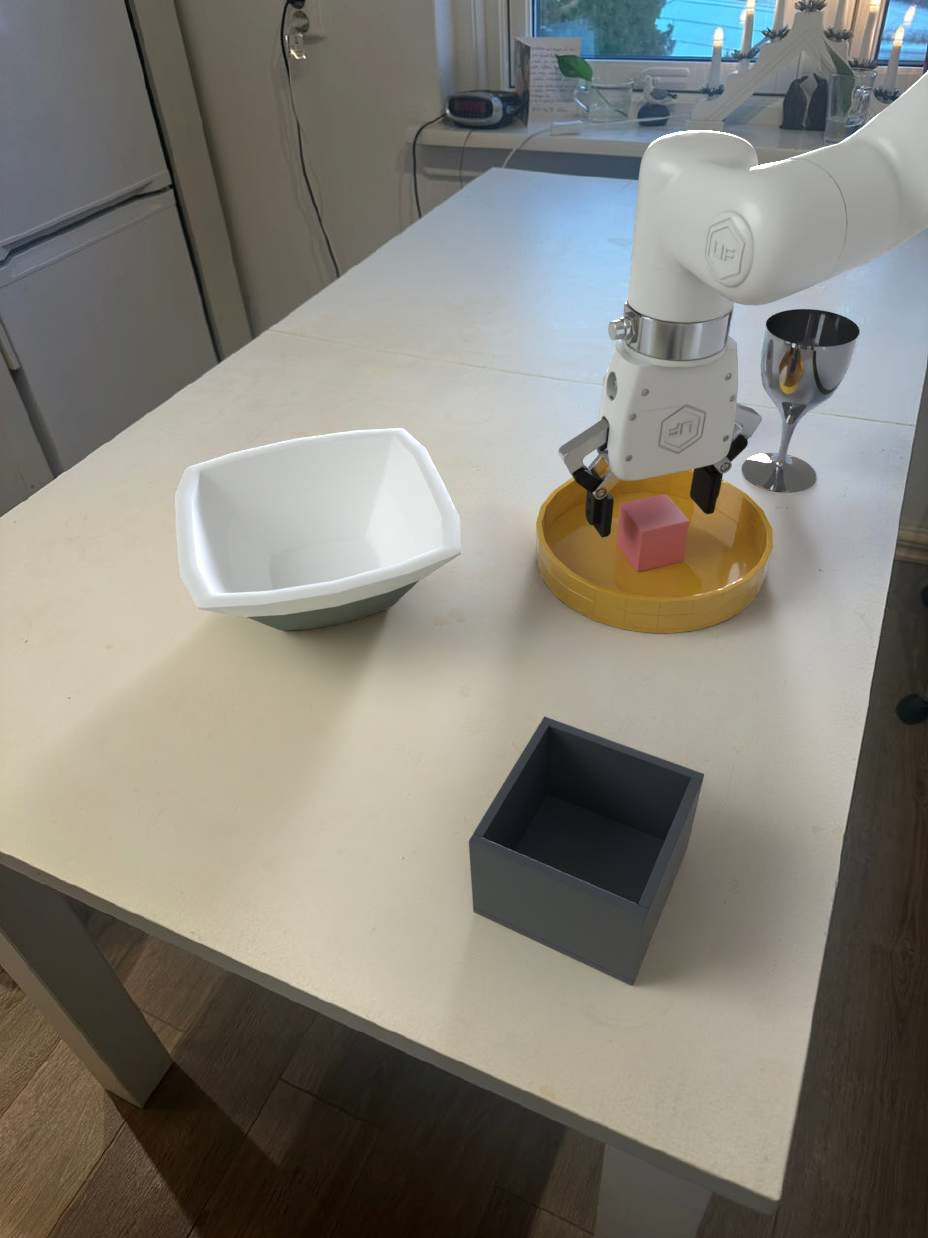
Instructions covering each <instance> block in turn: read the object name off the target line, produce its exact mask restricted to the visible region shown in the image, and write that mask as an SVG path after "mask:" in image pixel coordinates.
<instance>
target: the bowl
mask: <svg viewBox="0 0 928 1238" xmlns="http://www.w3.org/2000/svg"><path fill="white" fill-rule="evenodd" d="M174 513H175V515H174V517H175V518H174V519H175V538H176V548H177V560H178V569H179V570H178V571H179V576H180V578H181V580H182V582H183V584H184V586H185V588H186V589H187V591H188V593H189V595H190V597H191V598H192V600H193V602H194V604H195V606H196V608H197V609H198V610H200V611H203V612H204V611H205V612H212V613H216V614H222V615H228V616H234V617H241V618H247V619H251V620H253V621H255V622H258V623H260V624H263V625H265V626H268V627H270V628H273V629H276V630H277V631H300V630H302V631H303V630H313V629H317V628H322V627H323V628H325V627H331V626H336V625H341V624H344V623H349V622H352V621H356V620H359V619H363V618H366V617H370V616H372V615H375V614H377V613H379V612H381V611H384V610H386V609H390V608H391V607H394V605H396V603H398V602H399V601H400V600H401V599H402V598H403V597H404V596H405V595H406V594H407V593H408V592H409V591H410V590H411V589H412V588H413V587H414V586H416V585H417V584H418V582H419V581H421V580H423V579H425V578H427V577H428V576H430V575H431V574H433V573H435V572H436V571H437V570H439V569H440V568H443V566H445V565H447V564H448V563H450V562H452V561H453V560H455V559H456V558H458V557H459V556H461V554H462V536H461V535H462V533H461V518H460V515H459V513H458V511H457V508H456V506H455V504H454V503H453V500H452V498H451V496H450V493H449V491H448V489H447V487H446V485H445V483H444V481H443V479H442V477H441V475H440V473H439V471H438V468H437V467H436V465H435V462H434V461H433V459H432V458H431V456H430V453H429V451H428V450H427V448H426V447H425V446H424V445H422V444H421V442H419V441H418V440H417V439H416V438H415V437H414V436H413V435H412V434H410V432H409V431H407V430H406V429H405V428H402V427H397V428H396V427H395V428H375V429H357V430H349V431H342V432H341V431H340V432H332V433H326V434H318V435H312V436H305V437H297V438H291V439H286V440H282V441H278V442H274V443H269V444H265V445H261V446H256V447H252V448H248V449H247V448H246V449H243V450H239V451H238V450H237V451H234V452H231V453H227V454H224V455H220V456H218V457H215V458H212V459H208V460H205V461H203V462H199V463H196V464H192V465H189V466H187V467H186V468H185V469H184V471H183V474H182V476H181V479H180V482H179V483H178V486H177V489H176V492H175V494H174Z"/></svg>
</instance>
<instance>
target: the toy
mask: <svg viewBox="0 0 928 1238" xmlns="http://www.w3.org/2000/svg"><path fill="white" fill-rule="evenodd" d="M688 526H689V520H688V519H687V518H686V517H685V516H684V514H683V513H682V512H681V511H680V510H679V509H678V507H677V506H676V505H675V504H674V503H673V502H672V500H671V499H670V498H669V497H668V496H667V495H666V494H663V495H658V496H654V497H649V498H644V499H640V500H635V501H631V502H626V503H621V504H620V512H619V523H618V533H617V545H618V546H619V548H620V549H621V550H622V552H623V553H624V555H625V556H626V557H627V559H628V560H629V561H630V563H631V564H632V566H633V567H634V568H635V570H636V571H637V572H640V571H645V570H649V569H653V568H657V567H662V566H666V565H670V564H675V563H679V562H682V561H683V557H684V551H685V545H686V539H687V533H688Z"/></svg>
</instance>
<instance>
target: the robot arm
mask: <svg viewBox="0 0 928 1238" xmlns="http://www.w3.org/2000/svg"><path fill="white" fill-rule="evenodd" d="M638 172H639V173H638V180H637V181H638V183H637V192H636V202H635V203H636V204H635V215H634V222H633V223H634V224H633V237H632V245H631V246H632V247H631V256H630V267H629V278H628V288H627V297H626V302H625V303H624V304H623V314H622V317H619V318H618V319H616V320H611V321H610V322H609V323H608V327H607V330H608V336H609V338H610V340H611V341H616V342H615V345H614V348H613V351H612V354H611V357H610V360H609V363H608V367H607V370H606V372H607V374H606V378H605V382H604V387H603V386H602V391H601V392H602V393H601V396H600V397H601V398H600V403H599V408H598V409H599V410H598V416H597V422H596V423H594V424H593V425H591V426H589V427H588V428H586V429H585V430H584V431H582V432H581V433H579V434H578V435H576V436H575V437H573V438H572V439H570V440H568V441H567V442H565V443H564V444H562V445H561V446H560V447H559V448H558V451H557V452H558V455H559V457H560V459H561V460H562V462H563V464H564V465H565V467H566V469H567V470H568V473H569V474H570V476H571V478H574V479H575V481H576V482H577V483H578V484H579V485H581V486H582V487H583V488H585V489H586V490H587V494H586V508H585V516H586V519H587V521H588V523H589V524H590V525H593V526H594V527H595V529H596V530H597V532H598V533H599V534H600V536H601V537H602V538H603V537H607V536H609V534H610V533H611V524H612V514H613V503H614V500H613V497H612V496H611V494H610V493H609V492H610V491H611V490H612V489H613V488H614V487H615V486H616V484H617V483H618V482H619V481H620V480H623V481H637V480H642V479H648V478H653V477H658V476H663V475H667V474H672V473H677V472H682V471H686V470H691V469H693V470H694V472H693V478H692V484H691V490H690V497H691V498H692V500H693V501H694V502H695V503H696V504H697V505H698V506H699V508H700V509H701V510H702V511H703V512H704V513H706V514H712V513H714V510H715V505H716V500H717V498H718V496H719V492H720V487H721V482H722V480H723V476H724V474H727V473H728V472H729V471H730V470H731V469H732V466H733V464H732V463H733V461H734V460H735V459H736V458H737V457H738V456H739V455H740V454H741V453H742V452H744V450H745V449H747V446H748V444H749V441H748V440H749V439H750V438H751V437H752V436H753V434H754V433H755V431H756V430H757V429H758V427H759V425H760V424H761V422H762V420H763V417H762V415H761V414H760V413H758V412H757V411H756V410H755V409H754V408H752V407H750V406H746V405H744V404H741V403H738V392H739V358H738V357H739V356H738V344H737V341H736V340H735V339H734V338H733V337H731V336H730V330H731V324H732V319H733V314H734V308H735V303H736V304H737V305H738V304H739V305H743V306H755V307H756V306H763V305H768V304H771V303H774V302H777V301H780V300H783V299H785V298H787V297H790V296H792V295H794V294H797V293H799V292H802V291H805V290H806V289H807V290H808V289H809V288H811V287H812V288H813V287H814V286H815V285H818V284H820V283H822V282H825V281H827V280H829V279H832V278H834V277H837V276H840V275H842V274H844V273H847V272H849V271H852V270H855V269H858V268H860V267H862V266H865V265H868V264H869V263H871V262H873V261H876V260H877V259H879V258H882V257H883V256H884V255H886V254H888V253H889V252H891V251H893V250H894V249H896V248H898V247H899V246H901V245H903V244H904V243H905V242H908V241H909V240H910V239H912V238H914V237H915V236H917V235H918V234H919V233H921V232H923V231H924V230H926V229H927V228H928V70H927V71H926V72H925V73H924V74H923V75H922V76H921V77H920V78H919V79H918V80H917V81H915V83H913V84H912V85H911V86H910V87H909V88H907V90H905V91H904V92H903V93H902V94H901V95H899V97H898V98H896V99H895V100H894V101H893V102H891V103H889V105H888V106H887V107H886V108H883V110H882V111H880V112H879V113H878V114H876V116H874V117H873V118H872V119H871V120H869V121H868V122H867V123H866V124H864V125H863V126H862V127H861V128H860V129H858V130H856V131H855V132H854V133H853V134H851V135H850V136H848V137H846V138H845V139H843V140H842V141H840V142H838V143H835V144H831V145H828V146H824V147H820V148H818V149H814V150H810V151H808V152H805V153H802V154H799V155H796V156H793V157H789V158H787V159H783V160H780V161H775V162H769V163H764V164H760V165H759V159H758V154H757V152H756V149H755V147H754V146H753V145H752V144H751V143H750V142H749V141H748V140H746V139H744V138H743V137H741V136H738V135H734V134H731V133H728V132H727V133H726V132H722V131H721V132H720V131H713V130H687V131H686V130H685V131H678V132H674V133H670V134H666V135H663V136H661V137H659V138H657V139H656V140H654V141H652V142H651V143H650V144H649V146H648V147H647V148H646V150H645V151H644V153H643V156H642V157H641V161H640V165H639V171H638ZM595 450H596V452H597V456H596V457H595V458H594V459H593V461H591V463H590V464H589V465H588V466H587V465H586V464H584V459H585V458H586V456H588V455H589V454H591V453H592V452H594V451H595ZM608 466H610V469H609V470H608V471H607V472H606V474H605V475H604V476H603V477H602V478H601V477H600V476H601V475H602V473H603V472H604V471H605V470H606V469H607V468H608Z"/></svg>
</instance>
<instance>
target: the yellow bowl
mask: <svg viewBox="0 0 928 1238" xmlns="http://www.w3.org/2000/svg"><path fill="white" fill-rule="evenodd" d="M609 469H610V466H608V468H607V469H606V470H605V471H604V472H603V473H602V475H601V476H600V477H601V478H602V477H603V476H604V475H605V474H606V472H607V471H608V470H609ZM693 472H694V469H691V470H686V471H682V472H677V473H672V474H667V475H663V476H658V477H653V478H648V479H642V480H637V481H623V480H620V481H619V482H618V483H617V484H616V486H615V487H614V488H613V489H612V490H611V491H610V492H609V493H610V494H611V496H612V497H613V500H614V503H613V514H612V524H611V533H610V534H609V536H607V537H603V538H602V537H601V536H600V534H599V533H598V532H597V530H596V529H595V527H594V526H593V525H590V524H589V523H588V521H587V519H586V516H585V508H586V494H587V490H586V489H585V488H583V487H582V486H581V485H579V484H578V483H577V482H576V481H575V479H574V478H573V477H570V478H569V479H568V480H566V481H565V482H564V483H562V484H561V485H559V486H558V487H556V488H555V489H554V490H552V492H551V493H550V494H549V495H548V497H546V499H545V501H544V502H542V504H541V506H540V508H539V512H538V515H537V518H536V522H535V553H536V565H537V568H538V572H539V574H540V577H541V578H542V580H543V582H544V584H545V585H546V586H547V588H548V589H549V591H551V593H552V594H553V595H554V596H555V597H556V598H557V599H558V600H560V601H561V602H562V603H563V604H565V606H567V607H568V608H570V609H572V610H573V611H575V612H576V613H578V614H580V615H582V616H584V617H586V618H589V619H590V620H593V621H595V622H598V623H601V624H603V625H606V626H609V627H613V628H617V629H621V630H626V631H631V632H637V633H648V634H676V633H686V632H692V631H698V630H702V629H706V628H709V627H713V626H716V625H719V624H721V623H724V622H726V621H728V620H730V619H731V618H733V617H734V616H737V615H738V614H740V613H741V612H742V611H744V610H745V609H746V608H747V607H749V605H750V604H752V602H753V601H754V600H755V599H756V597H758V594H759V593H760V591H761V589H762V587H763V584H764V580H765V579H766V576H767V573H768V569H769V565H770V561H771V557H772V552H773V549H774V540H773V539H774V538H773V537H774V535H773V527H772V525H771V523H770V521H769V519H768V517H767V515H766V514H765V511H764V510H763V509H762V507H760V505H758V504H757V503H756V502H755V501H754V500H753V498H752V497H751V496H750V495H748V494H747V493H746V492H744V491H743V490H741V489H740V488H738V487H736V486H735V485H733V484H732V483H730V482H728V481H727V480H724V479H722V482H721V487H720V492H719V496H718V498H717V500H716V505H715V510H714V513H712V514H706V513H704V512H703V511H702V510H701V509H700V508H699V506H698V505H697V504H696V503H695V502H694V501H693V500H692V498H691V497H690V490H691V484H692V478H693ZM663 494H666V495H667V496H668V497H669V498H670V499H671V500H672V502H673V503H674V504H675V505H676V506H677V507H678V509H679V510H680V511H681V512H682V513H683V514H684V516H685V517H686V518H687V519H688V520H689V526H688V533H687V539H686V545H685V551H684V557H683V561H682V562H679V563H675V564H670V565H666V566H662V567H657V568H653V569H649V570H645V571H640V572H637V571H636V570H635V568H634V567H633V566H632V564H631V563H630V561H629V560H628V559H627V557H626V556H625V555H624V553H623V552H622V550H621V549H620V548H619V546H618V545H617V533H618V523H619V512H620V504H621V503H626V502H631V501H635V500H640V499H644V498H649V497H654V496H658V495H663Z"/></svg>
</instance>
